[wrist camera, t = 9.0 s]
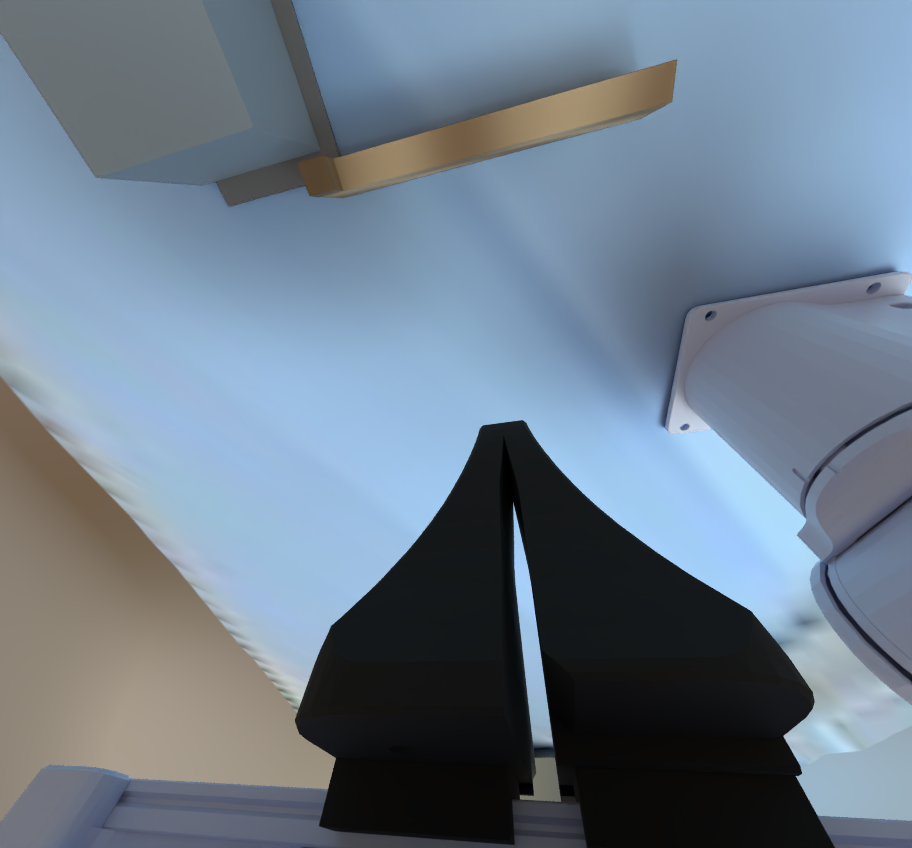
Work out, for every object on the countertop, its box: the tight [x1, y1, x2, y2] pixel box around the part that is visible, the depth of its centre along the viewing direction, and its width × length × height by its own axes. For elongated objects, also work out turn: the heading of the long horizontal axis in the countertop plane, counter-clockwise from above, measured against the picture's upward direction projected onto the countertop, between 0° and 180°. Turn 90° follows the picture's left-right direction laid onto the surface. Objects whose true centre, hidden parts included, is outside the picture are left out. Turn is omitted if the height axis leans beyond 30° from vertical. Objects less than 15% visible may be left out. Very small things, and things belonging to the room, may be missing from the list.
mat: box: [216, 0, 340, 206], centre depth 13 cm, size 6×6×1 cm
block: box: [0, 0, 321, 185], centre depth 11 cm, size 6×4×5 cm
